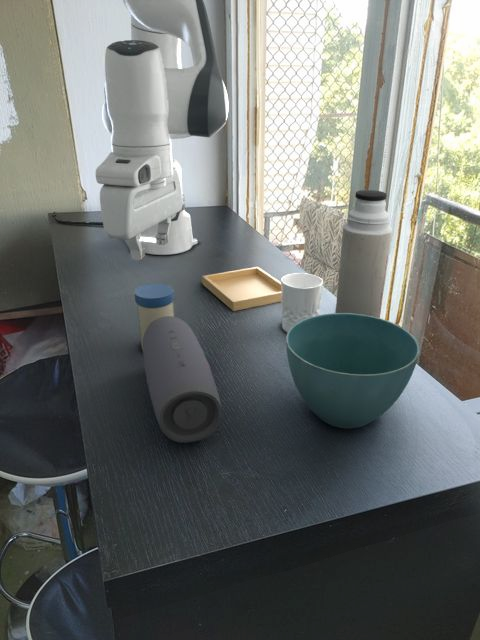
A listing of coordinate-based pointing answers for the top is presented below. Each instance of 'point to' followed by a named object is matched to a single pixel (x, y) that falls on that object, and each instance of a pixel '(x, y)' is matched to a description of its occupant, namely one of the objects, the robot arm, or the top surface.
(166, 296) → the jar lid
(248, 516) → the top surface
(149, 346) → the bluetooth speaker
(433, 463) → the top surface
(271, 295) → the tray
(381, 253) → the thermos bottle
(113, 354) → the top surface
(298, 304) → the white cup
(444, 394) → the top surface
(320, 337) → the teal bowl
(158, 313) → the jar
